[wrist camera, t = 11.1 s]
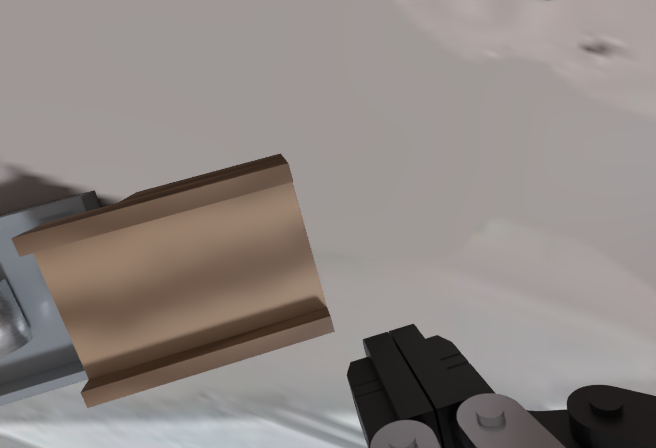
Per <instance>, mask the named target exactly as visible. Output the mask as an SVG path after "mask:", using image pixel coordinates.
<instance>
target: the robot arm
mask: <svg viewBox="0 0 656 448" xmlns="http://www.w3.org/2000/svg"><path fill="white" fill-rule="evenodd" d="M363 345H364V349H365V353H366V356H367V357H366V358H363V359H359V360H356V361H353V362H350V366H349V369H348V373H347V378H348V381H349V385H350V389H351V392H352V396H353V399H354V403H355V407H356V410H357V414H358V418H359V421H360V424H361V427H362V430H363V434H364V436H365V440H366V443H367V446H368V448H656V396H653V395H648V394H644V393H640V392H635V391H631V390H627V389H622V388H618V387H614V386H608V385H590V386H585V387H582V388H579V389H577V390H575V391H574V392H573V393H571V394H570V396H569V397H568V400H567V410H552V411H528V410H525V409H524V408H523V407H522V406H521V405H520V404H519V403H518V402H517V401H515V400H514V399H512V398H510V397H507V396H504V395H501V394H496V393H495V392H494V391H493V390H492V389H491V388H490V386H489V385H488V384H487V383H486V382H485V380H484V379H483V378H482V377H481V376H480V375H479V373H478V372H477V371H476V370H475V369H474V367H473V366H472V365H471V364H469V362H468V360H467V359H466V358H465V357H464V356H463V355H462V354H461V352H460V351H459V350H458V349H457V347H456V346H455V345H454V344H453V343H452V342H451V341H449V340H446V339H444V338H442V337H440V336H438V335H436V336H433V337H430V338H427V339H425V338H424V337H423V335H422V334H421V333H420V331H419V330H418V329H417V327H416V326H415V325H414V324H411V325H408V326H404V327H401V328H398V329H395V330H391V331H389V333H388V332H385V333H382V334H379V335H375V336H372V337H369V338H366V339H363Z"/></svg>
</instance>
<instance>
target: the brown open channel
mask: <svg viewBox="0 0 656 448" xmlns="http://www.w3.org/2000/svg"><path fill="white" fill-rule="evenodd" d="M11 239H12V241H13V243H14V246H15V248H16V250H17V252H18V255H19V257H22V256H25V255H29V254H32V253H33V254H34V257H35V259H36V261H37V263H38V266H39V268H40V270H41V273H42V275H43V277H44V279H45V282H46V284H47V286H48V288H49V291H50V293H51V295H52V297H53V300H54V302H55V304H56V306H57V309H58V311H59V313H60V316H61V318H62V320H63V322H64V325H65V327H66V329H67V331H68V334H69V336H70V338H71V340H72V343H73V345H74V347H75V350H76V352H77V354H78V356H79V359H80V361H81V363H82V365H83V368H84V370H85V372H86V374H87V377H88V379H89V381H88V382H87V384H86V385H85V387H84V388H83V390H82V391H81V394H82V397H83V399H84V401H85V403H86V406H87V408H89V407H92V406H96V405H99V404H102V403H105V402H108V401H112V400H115V399H118V398H121V397H125V396H128V395H131V394H134V393H138V392H141V391H144V390H147V389H150V388H154V387H157V386H160V385H163V384H167V383H170V382H173V381H176V380H180V379H183V378H186V377H189V376H192V375H196V374H199V373H202V372H205V371H209V370H212V369H215V368H218V367H222V366H225V365H228V364H231V363H234V362H238V361H241V360H244V359H247V358H251V357H254V356H257V355H260V354H264V353H267V352H270V351H273V350H276V349H280V348H283V347H286V346H289V345H293V344H296V343H299V342H302V341H306V340H309V339H312V338H315V337H318V336H322V335H325V334H328V333H331V332H335V331H334V328H333V324H332V320H331V317H330V314H329V311H328V309H327V306H326V302H325V298H324V295H323V291H322V287H321V284H320V280H319V277H318V273H317V269H316V266H315V262H314V258H313V255H312V251H311V248H310V244H309V241H308V237H307V233H306V229H305V226H304V222H303V219H302V215H301V211H300V208H299V204H298V200H297V197H296V193H295V190H294V186H293V179H292V175H291V171H290V168H289V164H288V162H287V161H286V160H285V159H284V157H283V156H282V155H281V154H277V155H273V156H270V157H266V158H262V159H259V160H255V161H251V162H248V163H244V164H240V165H236V166H233V167H229V168H225V169H221V170H218V171H214V172H210V173H207V174H203V175H199V176H196V177H192V178H188V179H185V180H181V181H177V182H173V183H169V184H166V185H162V186H158V187H155V188H151V189H147V190H143V191H140V192H137V193H135V194H133V195H131V196H129V197H127V198H126V199H124V200H122V201H120V202H119V203H116V204H112V205H108V206H105V207H101V208H97V209H93V210H90V211H86V212H82V213H79V214H75V215H71V216H68V217H64V218H60V219H56V220H53V221H49V222H45V223H43V224H41V225H39V226H37V227H35V228H33V229H30V230H28V231H26V232H24V233H22V234H20V235H18V236H15V237H13V238H11Z"/></svg>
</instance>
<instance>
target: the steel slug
mask: <svg viewBox="0 0 656 448" xmlns="http://www.w3.org/2000/svg"><path fill="white" fill-rule="evenodd" d="M32 338H33V335H32V333H31V331H30V329H29V327H28V324H27V322H26V320H25V318H24V316H23V314H22V312H21V310H20V308H19V306H18V304H17V302H16V300H15V298H14V296H13V294H12V292H11V290H10V287H9V285H8V283H7V281H6V279H0V358H2V357H4V356H6V355H8V354H10V353H12V352H14V351H16V350H18V349H20V348H21V347H23V346H24V345H26V344H27V343H28V342H30V341H31V340H32Z"/></svg>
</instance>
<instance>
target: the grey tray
mask: <svg viewBox="0 0 656 448" xmlns="http://www.w3.org/2000/svg"><path fill="white" fill-rule="evenodd" d="M97 208H101V206H100V203H99V201H98V198H97V195H96V193H95V191H91V192H87V193H83V194H79V195H76V196H72V197H68V198H64V199H61V200H57V201H53V202H49V203H46V204H42V205H38V206H34V207H31V208H27V209H23V210H19V211H16V212H12V213H8V214H4V215H1V216H0V279H6V281H7V283H8V285H9V287H10V290H11V292H12V294H13V296H14V298H15V300H16V302H17V304H18V306H19V308H20V310H21V312H22V314H23V316H24V318H25V320H26V322H27V324H28V327H29V329H30V331H31V333H32V335H33V338H32V340H31V341H30V342H28V343H27V344H26V345H24V346H23V347H21V348H20V349H18V350H16V351H14V352H12V353H10V354H8V355H6V356H4V357H2V358H0V406H2V405H5V404H9V403H12V402H15V401H19V400H22V399H25V398H28V397H32V396H35V395H38V394H42V393H45V392H48V391H51V390H55V389H58V388H61V387H65V386H68V385H71V384H75V383H78V382H81V381H84V380H88V377H87V374H86V372H85V370H84V368H83V365H82V363H81V361H80V359H79V356H78V354H77V352H76V350H75V347H74V345H73V343H72V340H71V338H70V336H69V334H68V331H67V329H66V327H65V325H64V322H63V320H62V318H61V316H60V313H59V311H58V309H57V306H56V304H55V302H54V300H53V297H52V295H51V293H50V291H49V288H48V286H47V284H46V282H45V279H44V277H43V275H42V273H41V270H40V268H39V266H38V263H37V261H36V259H35V257H34V254H33V253H32V254H29V255H25V256H22V257H19V255H18V252H17V250H16V248H15V246H14V243H13V241H12V239H11V238H13V237H15V236H18V235H20V234H22V233H24V232H26V231H28V230H30V229H33V228H35V227H37V226H39V225H41V224H43V223H45V222H49V221H53V220H56V219H60V218H64V217H68V216H71V215H75V214H79V213H82V212H86V211H90V210H93V209H97Z"/></svg>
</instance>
